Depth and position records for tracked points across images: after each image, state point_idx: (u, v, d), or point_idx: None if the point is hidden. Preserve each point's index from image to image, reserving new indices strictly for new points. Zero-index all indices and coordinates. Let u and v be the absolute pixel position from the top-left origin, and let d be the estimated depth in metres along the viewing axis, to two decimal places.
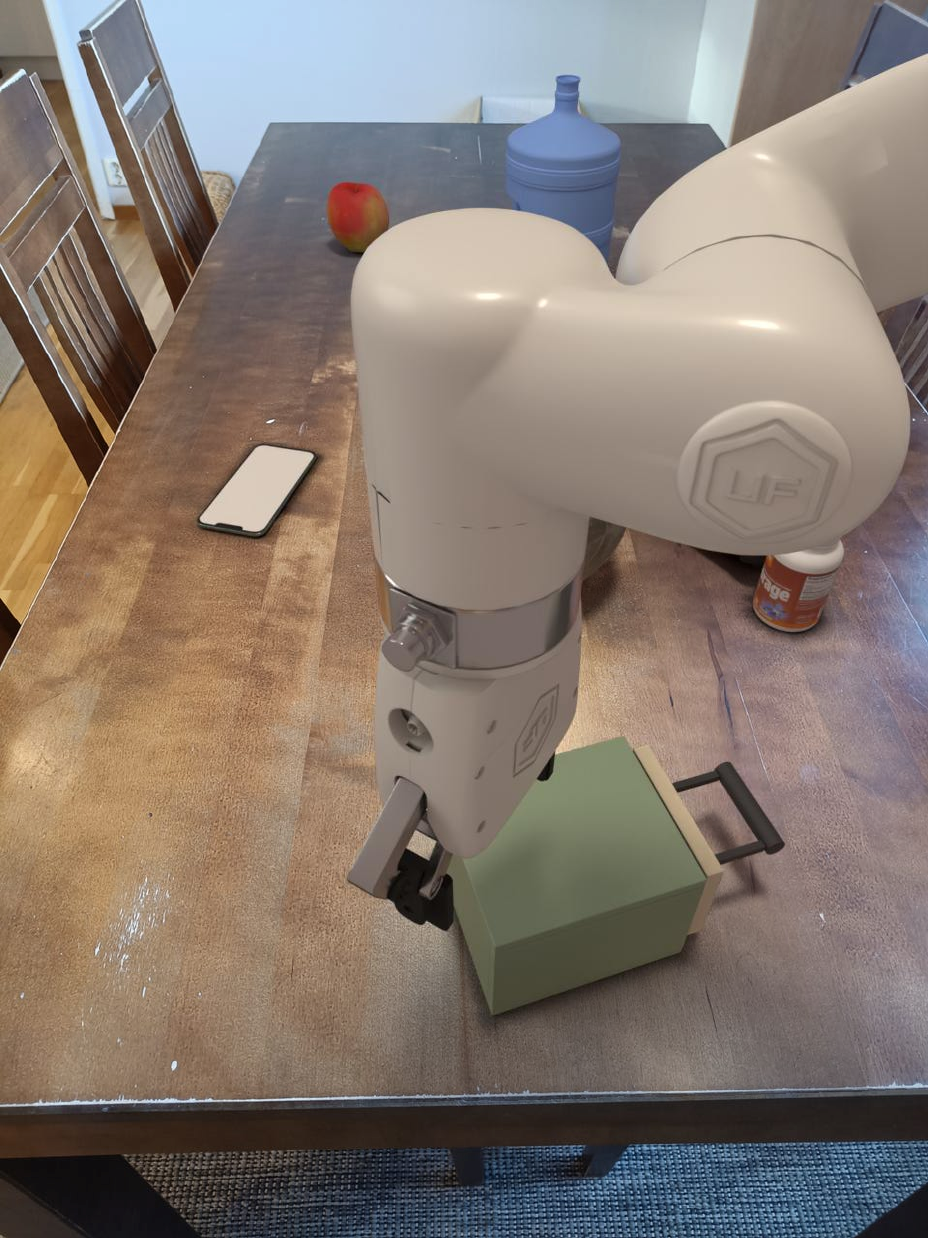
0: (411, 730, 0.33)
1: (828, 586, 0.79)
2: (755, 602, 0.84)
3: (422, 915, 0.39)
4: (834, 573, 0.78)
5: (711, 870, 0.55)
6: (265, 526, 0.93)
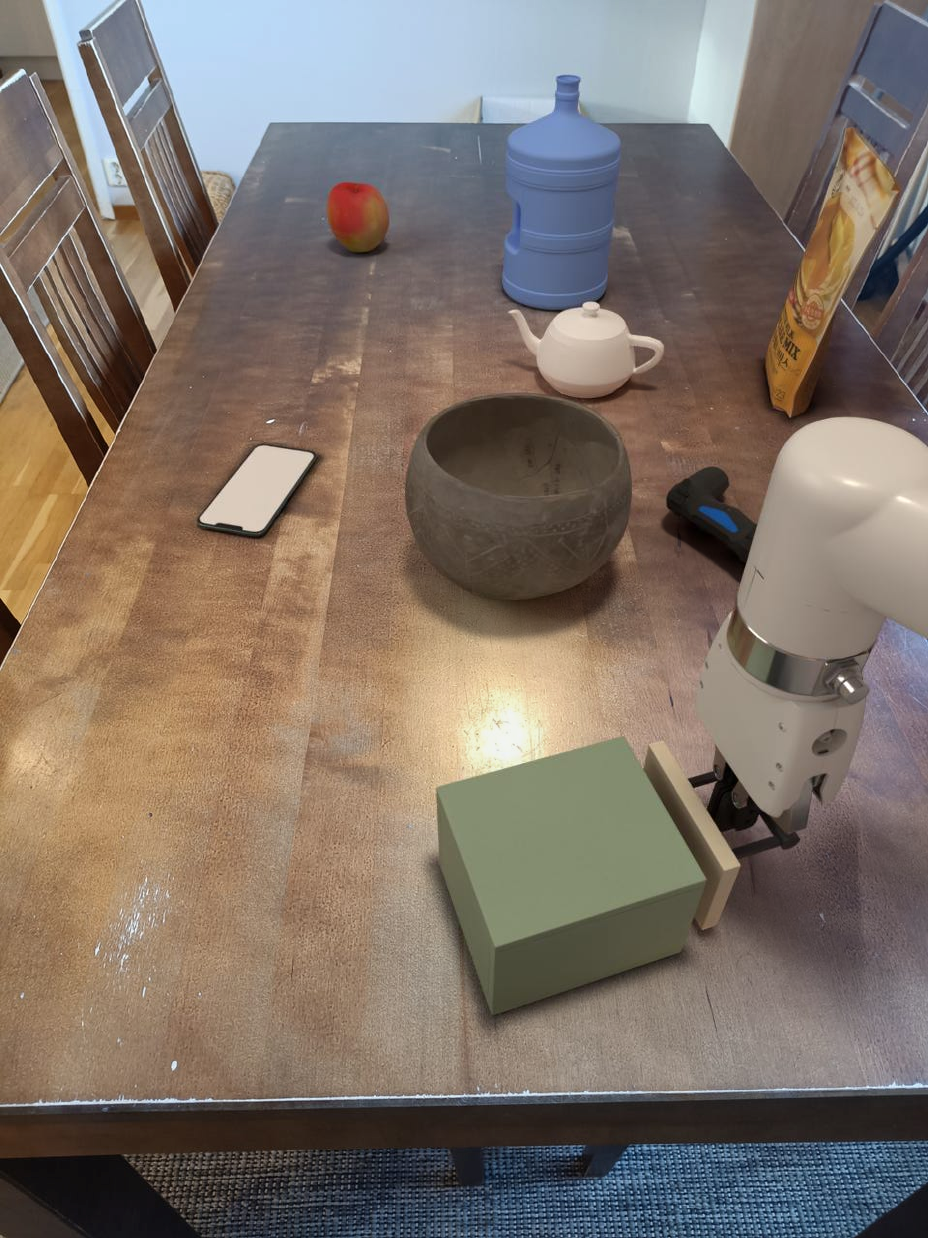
0: (824, 742, 0.50)
1: None
2: None
3: None
4: None
5: (728, 865, 0.56)
6: (265, 526, 0.93)
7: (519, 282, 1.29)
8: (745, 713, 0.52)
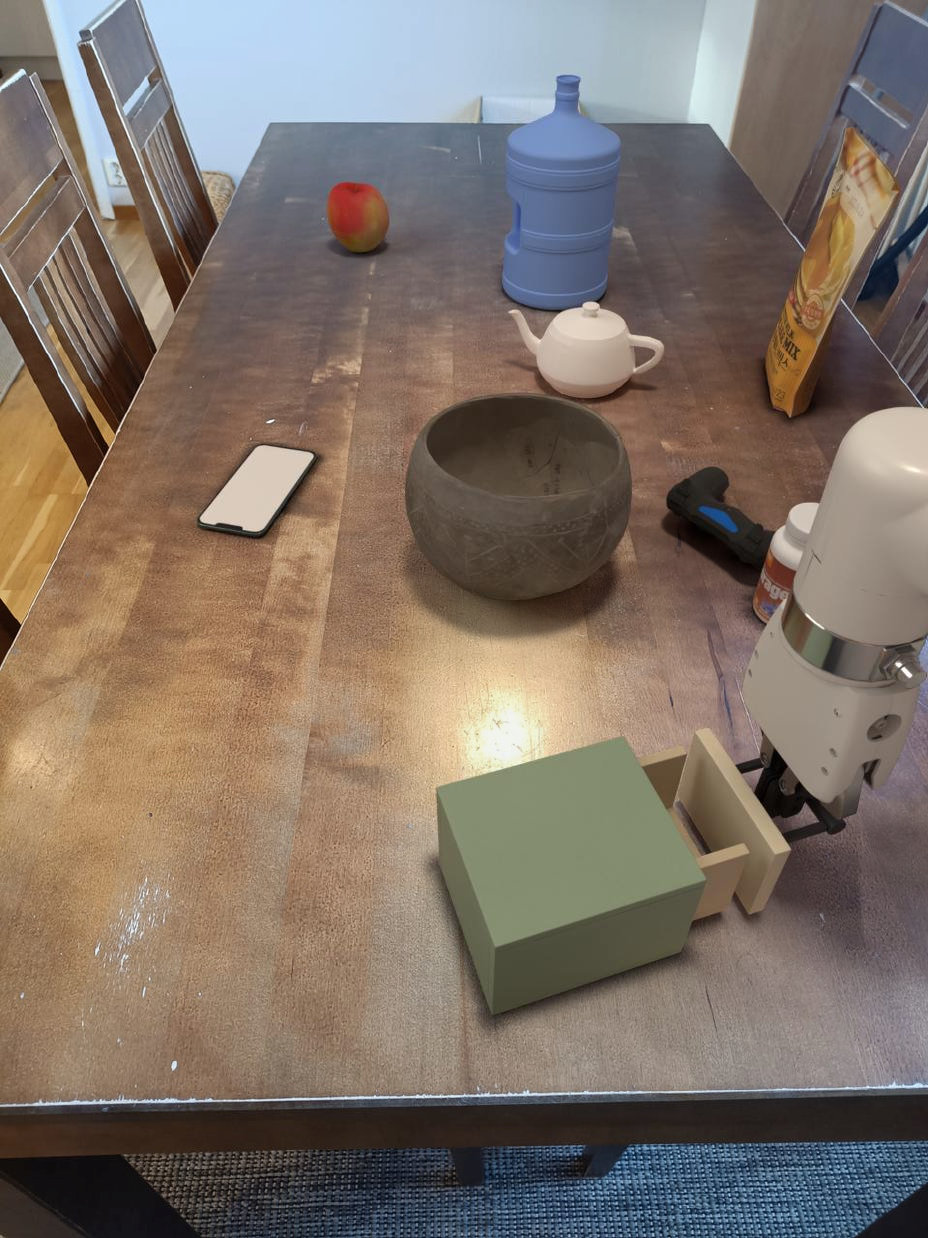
0: (879, 727, 0.50)
1: None
2: (755, 602, 0.84)
3: (804, 803, 0.61)
4: None
5: (779, 848, 0.56)
6: (265, 526, 0.93)
7: (519, 282, 1.29)
8: (798, 700, 0.53)
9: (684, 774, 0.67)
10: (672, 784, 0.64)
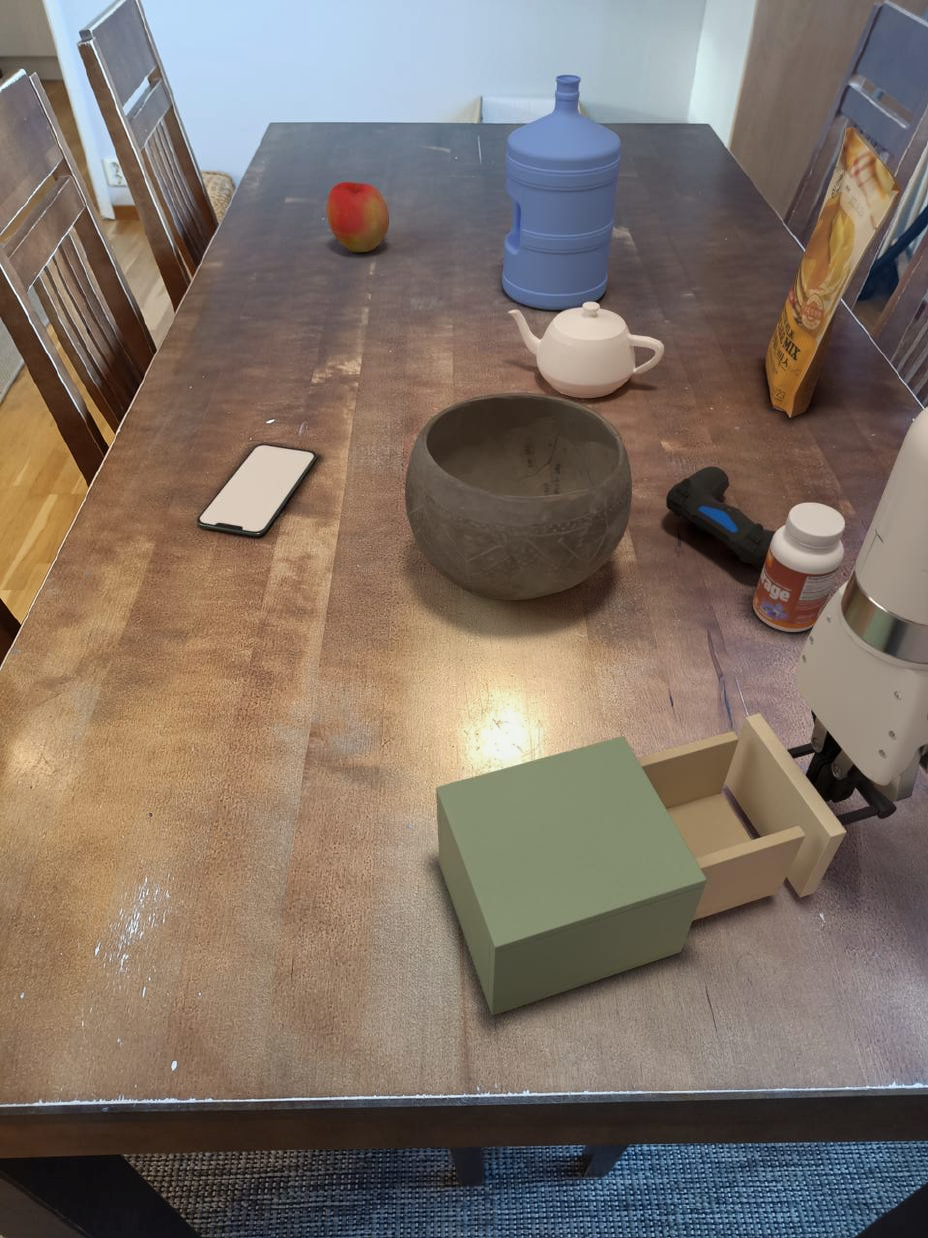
0: None
1: (828, 586, 0.79)
2: (755, 602, 0.84)
3: None
4: (834, 573, 0.78)
5: (834, 831, 0.57)
6: (265, 526, 0.93)
7: (519, 282, 1.29)
8: (856, 684, 0.54)
9: (732, 760, 0.67)
10: (722, 769, 0.65)
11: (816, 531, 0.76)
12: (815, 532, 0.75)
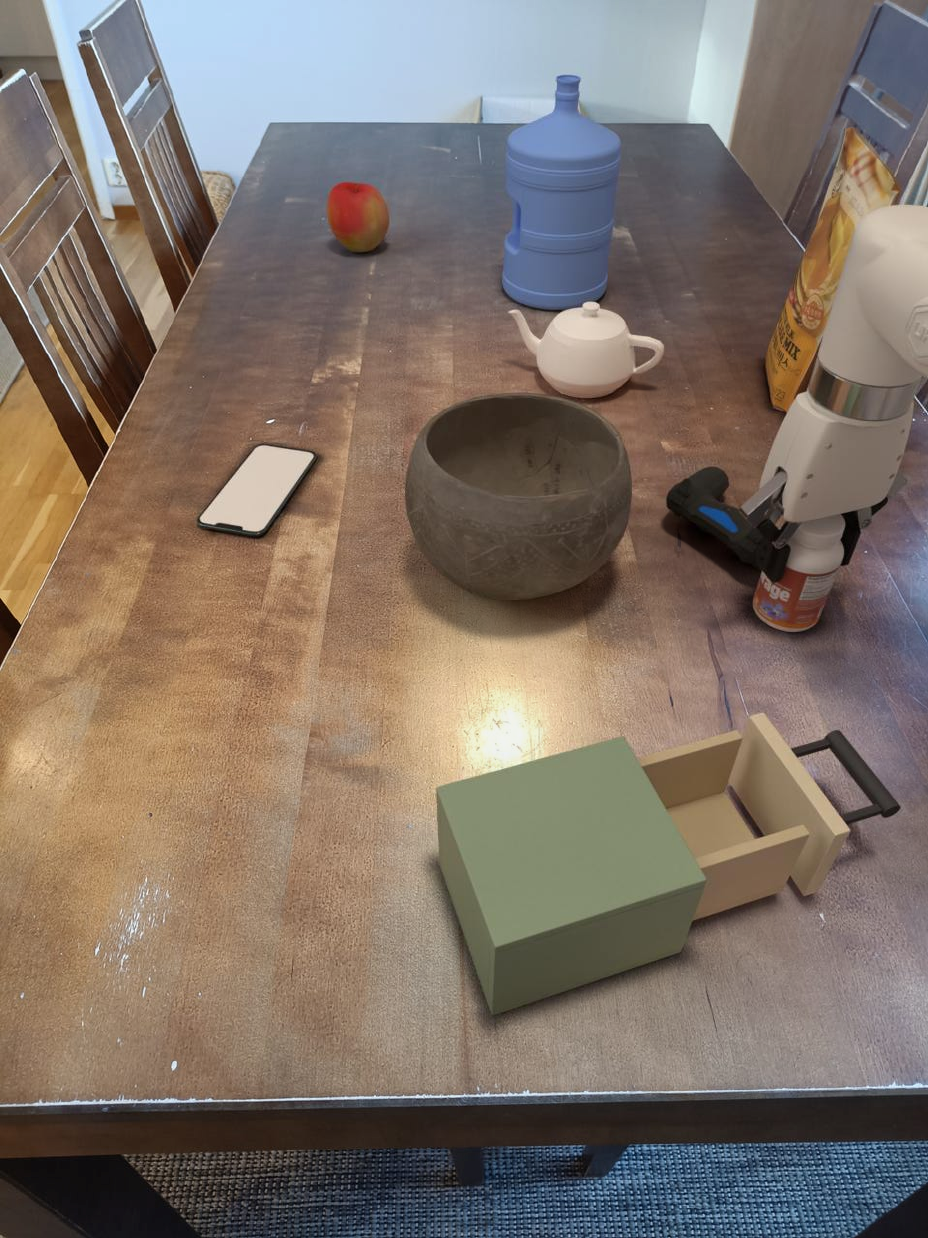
0: None
1: (828, 586, 0.79)
2: (755, 602, 0.84)
3: None
4: (834, 573, 0.78)
5: (838, 830, 0.57)
6: (265, 526, 0.93)
7: (519, 282, 1.29)
8: (869, 457, 0.70)
9: (736, 759, 0.67)
10: (726, 768, 0.65)
11: (817, 531, 0.76)
12: (815, 532, 0.75)
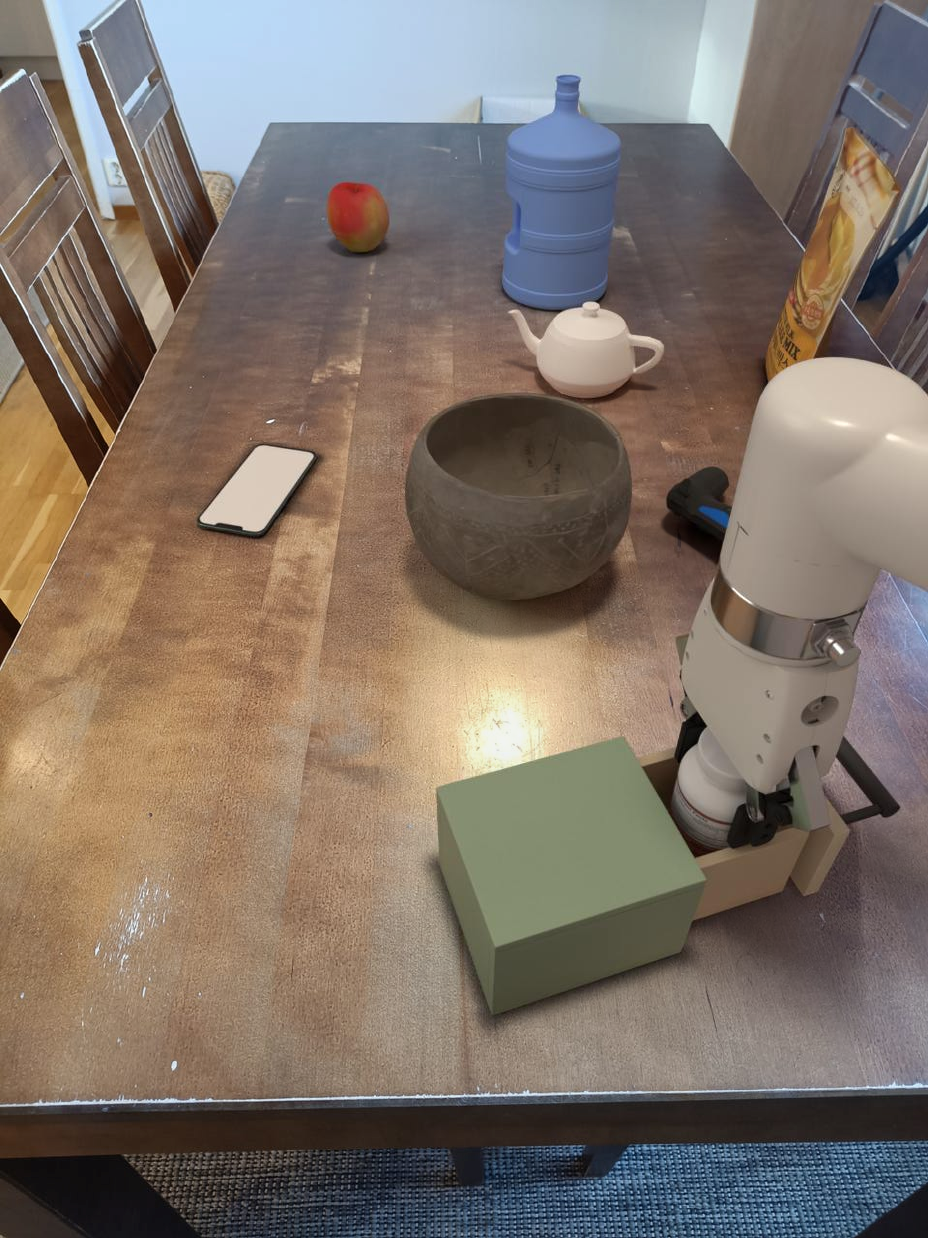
0: (814, 710, 0.47)
1: (690, 825, 0.58)
2: None
3: (776, 830, 0.55)
4: (695, 814, 0.57)
5: (838, 830, 0.57)
6: (265, 526, 0.93)
7: (519, 282, 1.29)
8: (731, 683, 0.49)
9: None
10: None
11: (707, 741, 0.56)
12: (704, 739, 0.56)
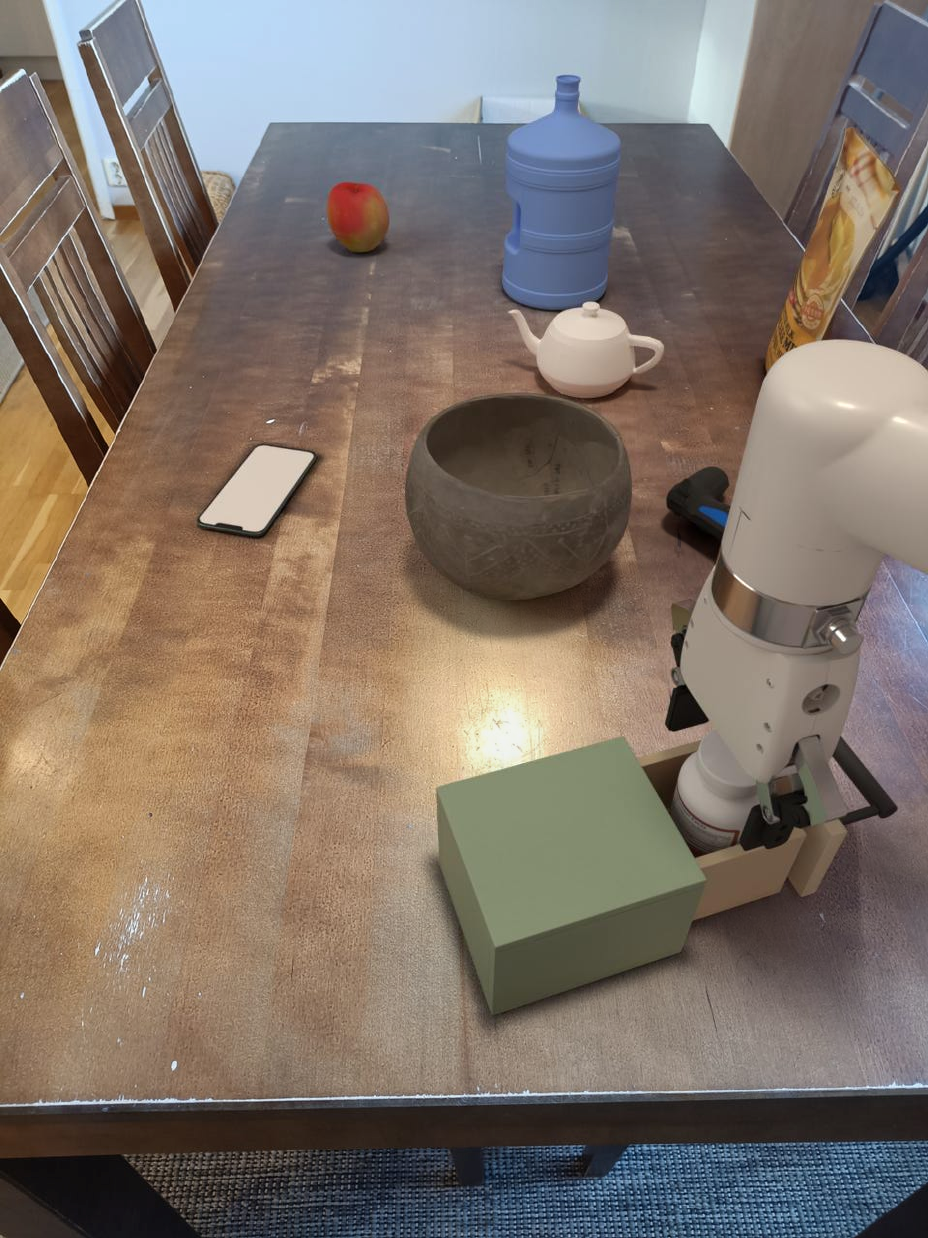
0: (815, 699, 0.46)
1: (688, 832, 0.59)
2: None
3: (791, 832, 0.53)
4: (694, 821, 0.58)
5: (835, 831, 0.57)
6: (265, 526, 0.93)
7: (519, 282, 1.29)
8: (732, 671, 0.49)
9: None
10: None
11: (706, 749, 0.57)
12: (704, 747, 0.57)
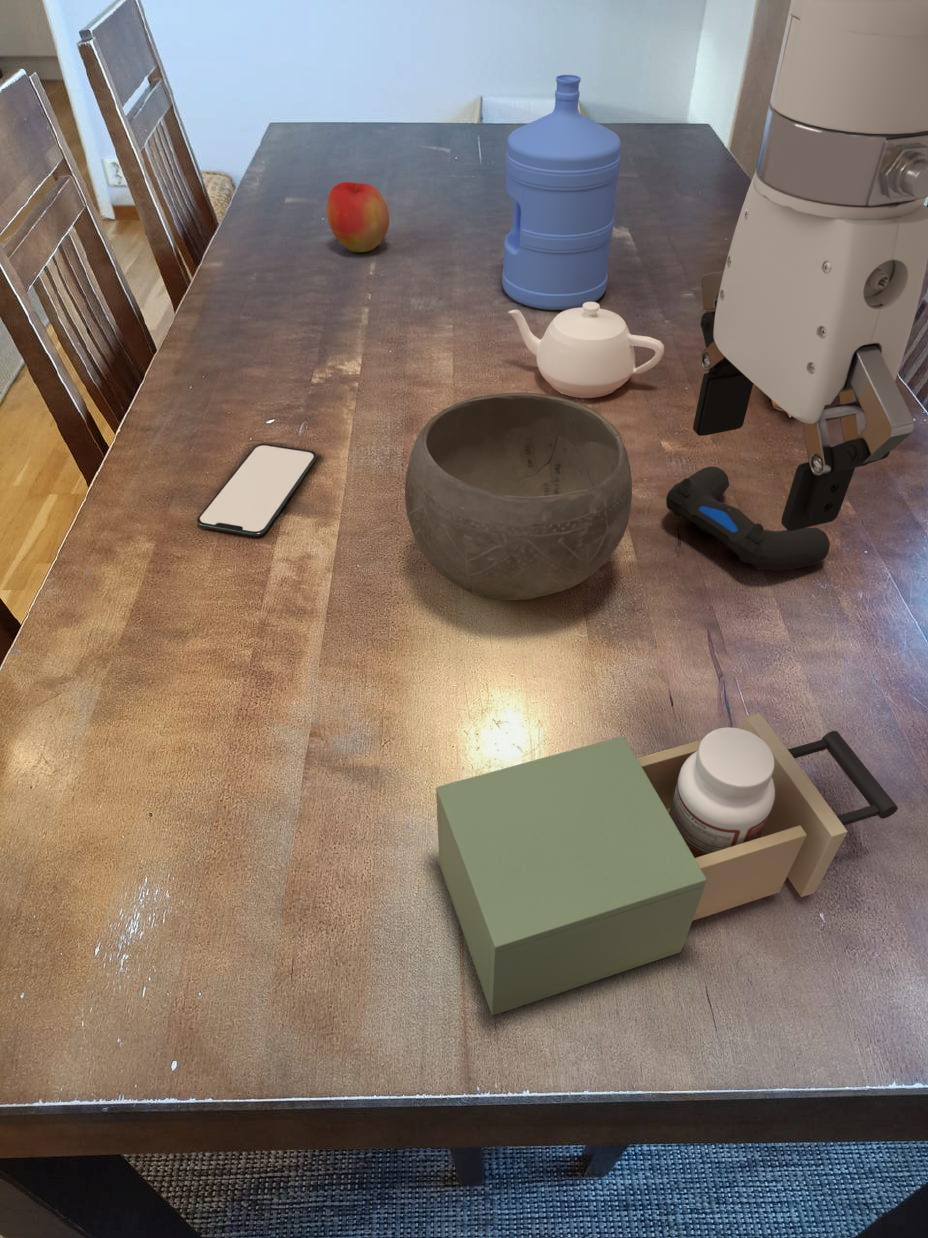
0: (879, 286, 0.40)
1: (688, 832, 0.59)
2: None
3: (841, 499, 0.47)
4: (694, 821, 0.58)
5: (835, 831, 0.57)
6: (265, 526, 0.93)
7: (519, 282, 1.29)
8: (778, 282, 0.43)
9: None
10: None
11: (707, 749, 0.57)
12: (704, 747, 0.57)
